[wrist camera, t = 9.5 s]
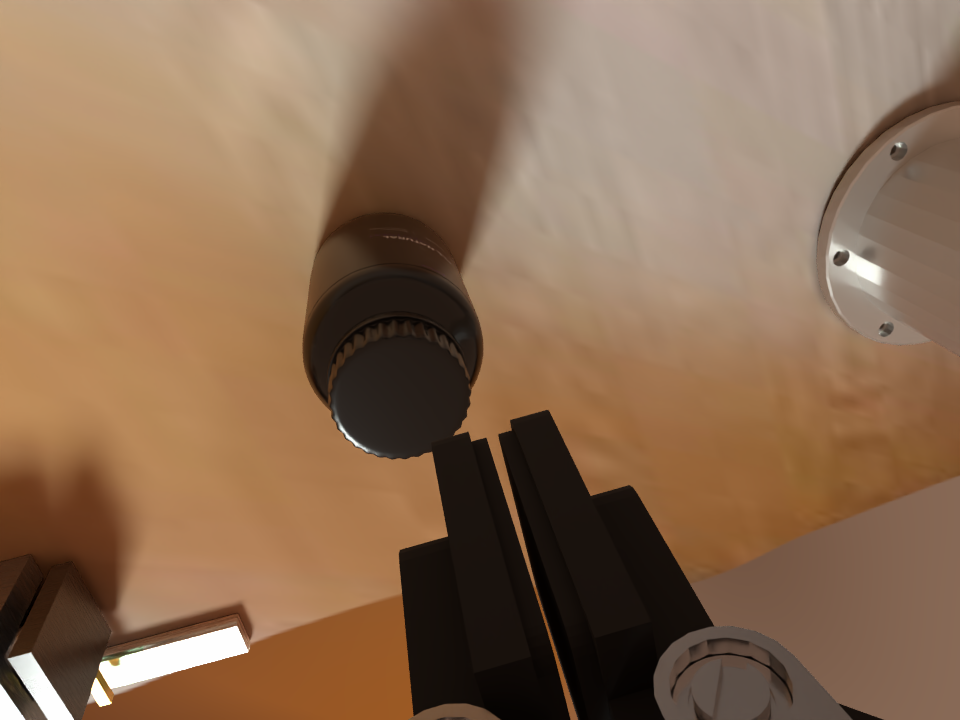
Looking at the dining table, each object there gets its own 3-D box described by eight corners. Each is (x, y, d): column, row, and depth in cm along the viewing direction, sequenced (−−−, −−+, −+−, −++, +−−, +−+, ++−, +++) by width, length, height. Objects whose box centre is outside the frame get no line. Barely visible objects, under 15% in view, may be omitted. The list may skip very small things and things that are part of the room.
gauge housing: (192, 513, 40) (169, 602, 34) (250, 640, 44) (238, 739, 38) (-197, 612, 38) (-291, 722, 32) (-98, 734, 42) (-166, 851, 37)
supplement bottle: (440, 194, 35) (489, 284, 24) (466, 328, 38) (519, 460, 27) (290, 225, 34) (272, 332, 24) (329, 359, 37) (329, 507, 27)
